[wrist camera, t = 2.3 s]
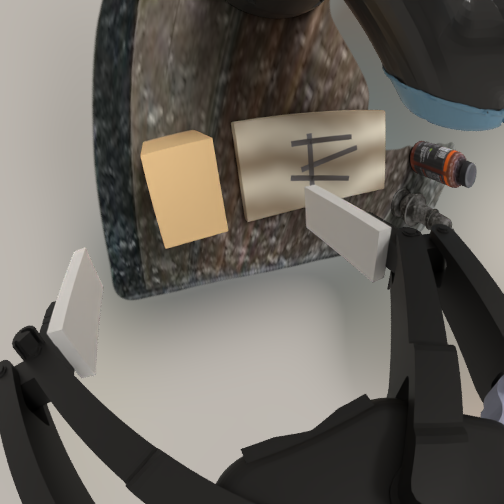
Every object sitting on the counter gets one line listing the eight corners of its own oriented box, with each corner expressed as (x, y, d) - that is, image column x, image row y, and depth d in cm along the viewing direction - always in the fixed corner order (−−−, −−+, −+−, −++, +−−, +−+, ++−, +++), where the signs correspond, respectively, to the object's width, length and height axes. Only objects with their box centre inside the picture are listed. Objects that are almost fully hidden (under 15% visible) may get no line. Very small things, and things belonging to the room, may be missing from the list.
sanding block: (143, 141, 27) (140, 155, 19) (193, 129, 28) (212, 138, 20) (159, 209, 31) (165, 248, 23) (205, 196, 32) (228, 231, 24)
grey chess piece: (413, 206, 46) (463, 235, 36) (393, 224, 46) (443, 256, 36) (409, 180, 42) (463, 206, 32) (387, 197, 42) (442, 228, 32)
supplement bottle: (424, 174, 43) (473, 197, 34) (405, 169, 41) (458, 192, 32) (430, 143, 40) (482, 161, 31) (412, 136, 38) (468, 153, 29)
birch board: (230, 122, 29) (233, 122, 28) (379, 109, 34) (385, 110, 33) (244, 218, 36) (248, 222, 34) (378, 186, 40) (384, 188, 39)
